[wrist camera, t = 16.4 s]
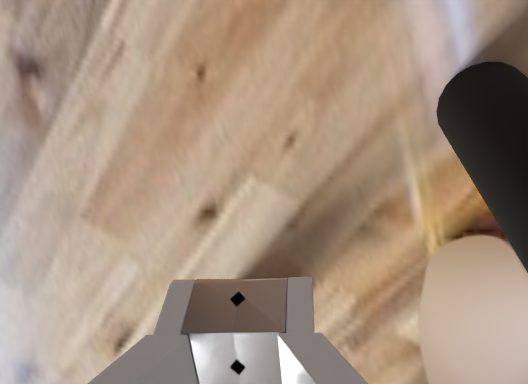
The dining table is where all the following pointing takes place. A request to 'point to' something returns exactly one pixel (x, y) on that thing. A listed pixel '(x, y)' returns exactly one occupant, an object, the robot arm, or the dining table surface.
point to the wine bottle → (492, 141)
